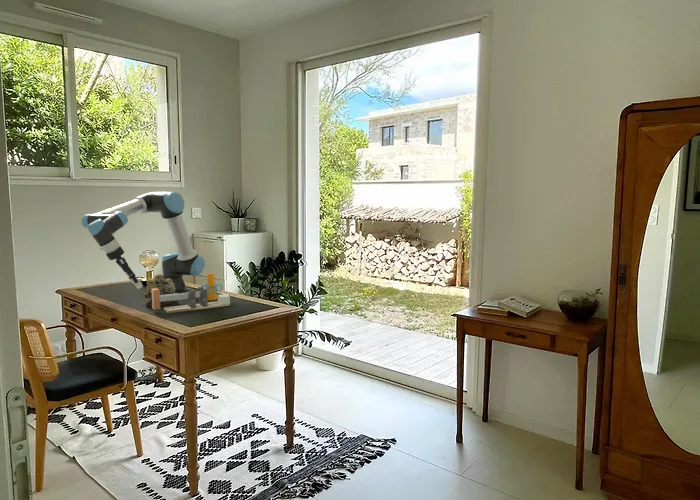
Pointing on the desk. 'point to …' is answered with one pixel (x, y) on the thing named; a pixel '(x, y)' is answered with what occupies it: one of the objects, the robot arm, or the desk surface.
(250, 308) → the desk surface
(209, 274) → the sippy cup
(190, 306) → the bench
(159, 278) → the brown rough lump
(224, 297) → the block
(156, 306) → the shaft
